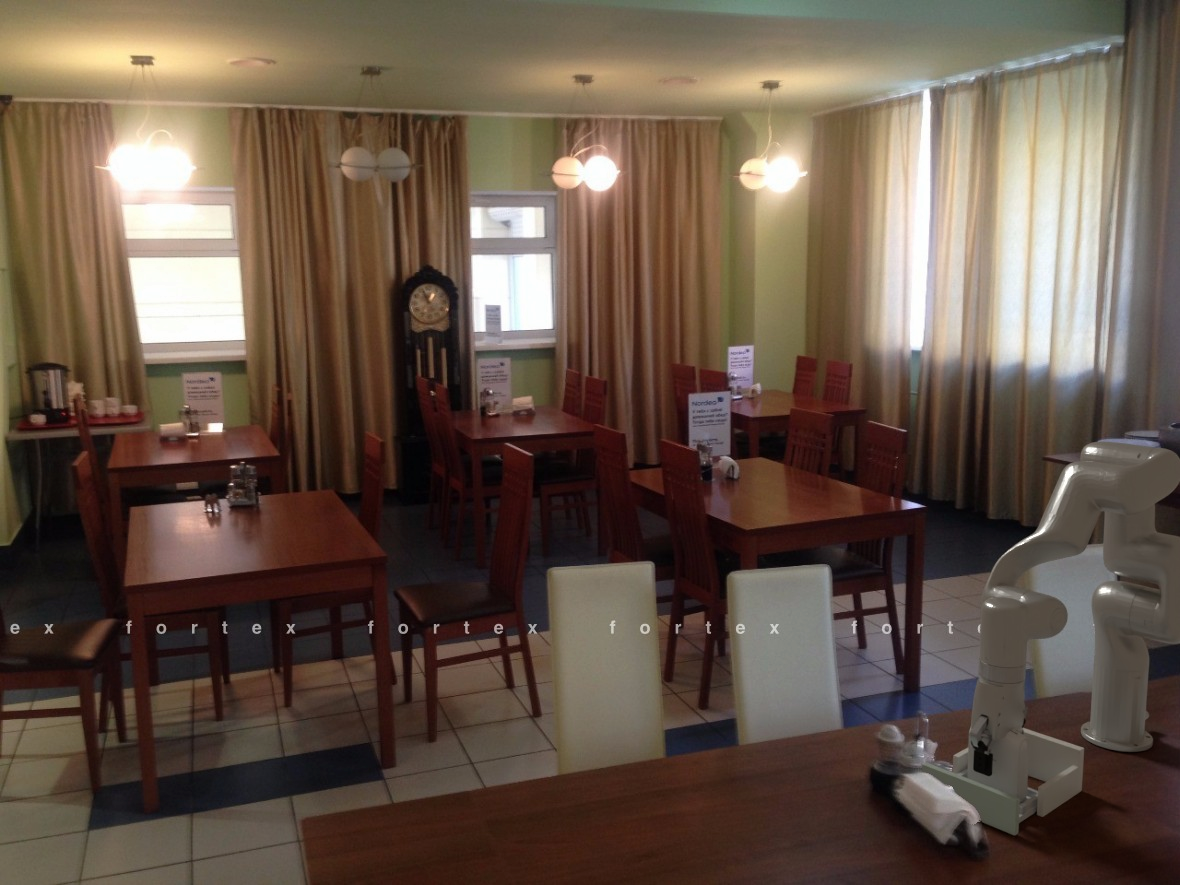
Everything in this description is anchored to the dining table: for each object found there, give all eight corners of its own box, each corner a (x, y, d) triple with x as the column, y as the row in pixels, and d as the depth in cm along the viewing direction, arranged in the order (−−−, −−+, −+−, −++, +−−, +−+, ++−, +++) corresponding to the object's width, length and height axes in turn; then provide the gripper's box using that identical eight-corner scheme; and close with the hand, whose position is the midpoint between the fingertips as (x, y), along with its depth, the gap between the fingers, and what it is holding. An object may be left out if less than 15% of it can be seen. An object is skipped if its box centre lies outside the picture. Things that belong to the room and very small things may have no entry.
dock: (992, 758, 194) (994, 718, 193) (1081, 790, 181) (1084, 747, 180) (952, 781, 185) (953, 739, 184) (1042, 817, 173) (1045, 772, 171)
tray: (962, 773, 188) (964, 742, 187) (1055, 808, 175) (1056, 775, 174) (920, 797, 180) (922, 764, 179) (1014, 836, 166) (1016, 800, 165)
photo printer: (962, 785, 181) (965, 719, 180) (975, 777, 184) (978, 712, 182) (1018, 807, 174) (1021, 738, 172) (1031, 799, 176) (1034, 731, 174)
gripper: (1007, 653, 184) (1002, 743, 186) (954, 676, 173) (950, 772, 176) (1047, 664, 178) (1042, 757, 181) (995, 689, 167) (991, 788, 170)
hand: (997, 764), depth 178 cm, fingers open, 9 cm apart
